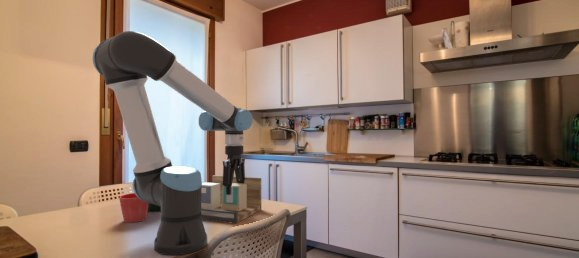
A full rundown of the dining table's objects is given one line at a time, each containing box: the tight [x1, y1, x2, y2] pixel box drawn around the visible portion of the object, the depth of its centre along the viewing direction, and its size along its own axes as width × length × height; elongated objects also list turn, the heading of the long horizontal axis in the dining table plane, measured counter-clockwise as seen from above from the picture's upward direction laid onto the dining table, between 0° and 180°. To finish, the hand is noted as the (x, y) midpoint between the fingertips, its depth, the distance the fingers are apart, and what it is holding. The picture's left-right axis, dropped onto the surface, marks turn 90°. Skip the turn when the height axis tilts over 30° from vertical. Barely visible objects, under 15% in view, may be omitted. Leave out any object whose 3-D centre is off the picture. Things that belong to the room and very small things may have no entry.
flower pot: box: [118, 192, 149, 223], centre depth 118 cm, size 11×11×10 cm
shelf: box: [201, 174, 262, 224], centre depth 127 cm, size 21×25×14 cm
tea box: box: [222, 183, 247, 211], centre depth 125 cm, size 8×6×10 cm
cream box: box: [201, 181, 220, 209], centre depth 130 cm, size 6×8×10 cm
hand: (234, 200), depth 125 cm, fingers closed on tea box, 6 cm apart
